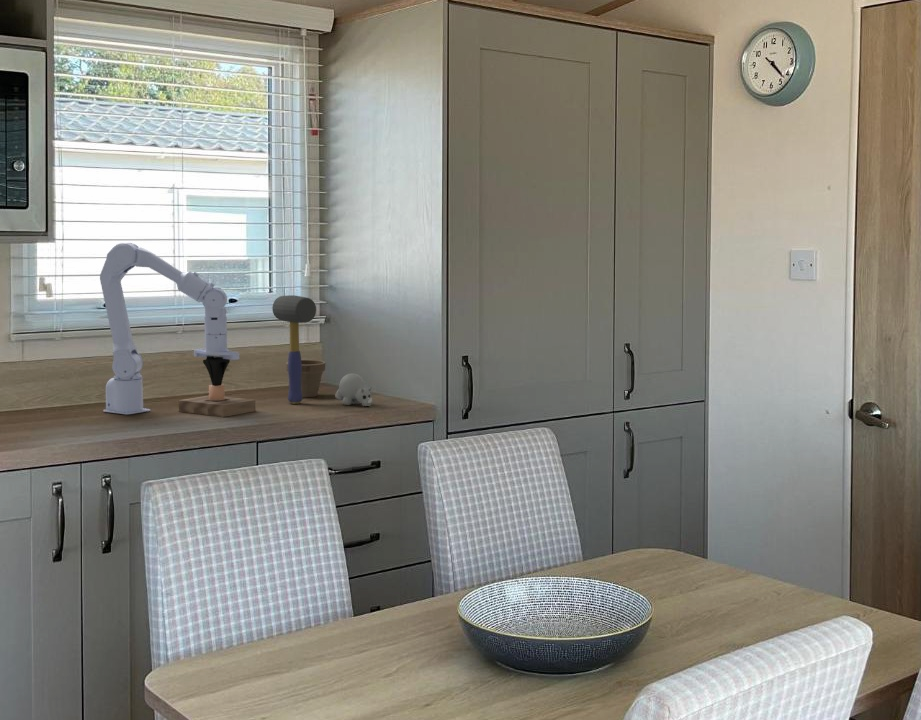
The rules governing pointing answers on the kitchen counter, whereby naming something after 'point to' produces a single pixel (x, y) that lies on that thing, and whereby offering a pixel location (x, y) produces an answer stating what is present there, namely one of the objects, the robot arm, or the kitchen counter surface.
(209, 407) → the socket board
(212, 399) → the peg
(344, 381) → the chubby cartoon animal
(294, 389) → the rubber mallet
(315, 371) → the flower pot
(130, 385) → the robot arm
